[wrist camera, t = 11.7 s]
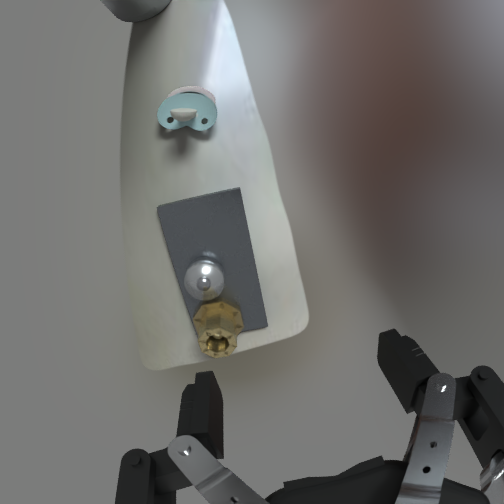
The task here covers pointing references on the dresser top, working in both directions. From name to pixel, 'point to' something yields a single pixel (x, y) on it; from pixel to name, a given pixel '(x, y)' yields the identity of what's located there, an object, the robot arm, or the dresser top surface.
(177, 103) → the pacifier
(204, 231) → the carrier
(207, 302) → the brass octagonal tube
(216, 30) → the dresser top surface
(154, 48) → the dresser top surface
